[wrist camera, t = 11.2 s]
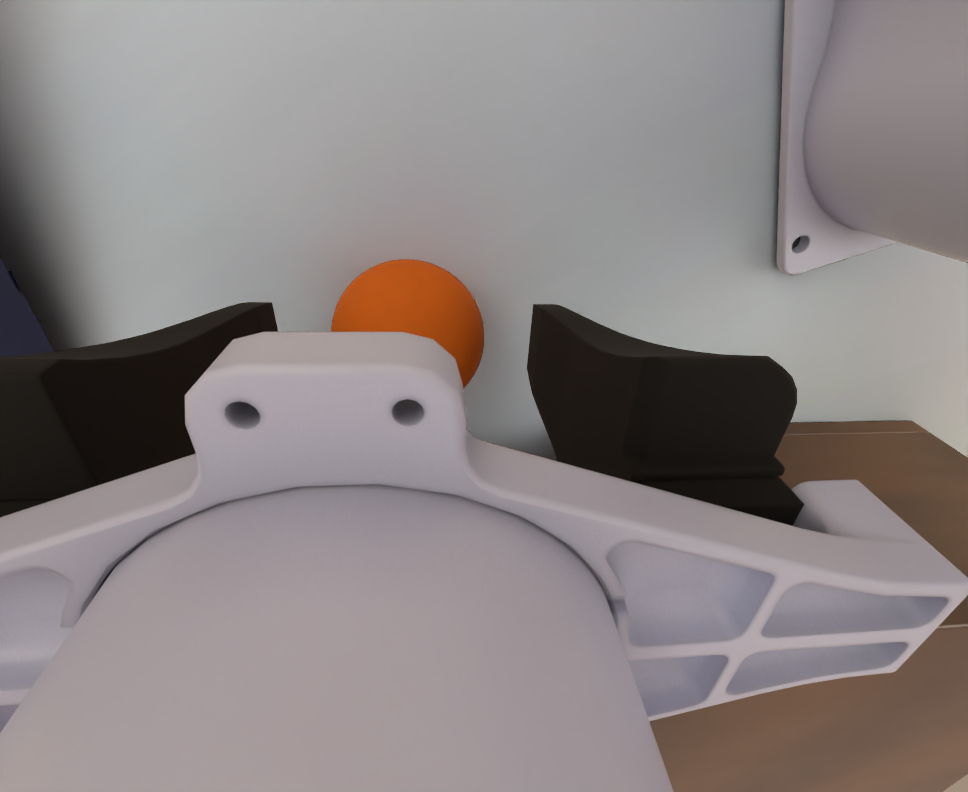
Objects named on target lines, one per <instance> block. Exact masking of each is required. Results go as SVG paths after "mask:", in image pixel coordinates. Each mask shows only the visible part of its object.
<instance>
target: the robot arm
mask: <svg viewBox="0 0 968 792" xmlns="http://www.w3.org/2000/svg"><path fill="white" fill-rule="evenodd" d="M798 237H801V239H800V243H799V244H798V245H797V246H796V247H795V248H794V249H792V244H793V242H794V241H795V240H796V239H797V238H798ZM898 242H899V243H903V244H906V245H909V246H913V247H916V248H919V249H923V250H926V251H929V252H933V253H936V254H940V255H943V256H946V257H950V258H953V259H956V260H960V261H963V262H966V263H968V0H785V15H784V46H783V76H782V107H781V137H780V168H779V198H778V229H777V259H776V263H777V267H778V269H779V270H780V271H782V272H784V273H786V274H789V275H798V274H801V273H804V272H807V271H810V270H813V269H817V268H820V267H823V266H826V265H829V264H832V263H835V262H838V261H841V260H845V259H848V258H851V257H854V256H857V255H860V254H863V253H866V252H870V251H873V250H876V249H879V248H882V247H885V246H888V245H891V244H894V243H898ZM527 370H528V375H529V381H530V386H531V390H532V394H533V397H534V399H535V402H536V405H537V407H538V410H539V413H540V415H541V418H542V420H543V423H544V425H545V428H546V431H547V433H548V436H549V438H550V441H551V443H552V446H553V449H554V452H555V455H556V459H557V461H554V460H551V459H547V458H543V457H540V456H536V455H532V454H529V453H525V452H522V451H518V450H514V449H511V448H507V447H503V446H500V445H496V444H492V443H489V442H485V441H482V440H478V439H477V438H476V437H475V436H473V435H472V434H471V433H470V432H469V431H468V430H467V428H466V413H465V403H464V393H463V383H462V380H461V377H460V373H459V370H458V366H457V363H456V359H455V358H454V357H453V356H452V355H451V354H449V353H448V352H447V351H446V350H445V349H444V348H443V347H442V346H441V345H439V344H438V343H437V342H436V341H435V340H434V339H430V338H426V337H422V336H418V335H414V334H410V333H406V332H278V329H277V325H276V320H275V315H274V310H273V306H272V303H256V302H248V303H240V304H236V305H232V306H229V307H226V308H223V309H220V310H217V311H214V312H211V313H208V314H205V315H203V316H200V317H197V318H194V319H191V320H188V321H185V322H182V323H179V324H176V325H173V326H170V327H167V328H164V329H160V330H157V331H154V332H151V333H147V334H143V335H140V336H136V337H132V338H127V339H123V340H119V341H114V342H110V343H105V344H99V345H93V346H87V347H81V348H75V349H69V350H63V351H55V352H47V353H38V354H29V355H18V356H7V357H0V792H674V791H673V788H672V785H671V783H670V780H669V777H668V774H667V771H666V768H665V765H664V762H663V760H662V757H661V754H660V751H659V748H658V745H657V742H656V739H655V737H654V734H653V731H652V728H651V725H650V722H649V721H652V720H656V719H660V718H665V717H669V716H673V715H677V714H681V713H685V712H689V711H693V710H697V709H701V708H705V707H709V706H713V705H717V704H721V703H726V702H730V701H734V700H738V699H742V698H746V697H750V696H754V695H758V694H762V693H767V692H771V691H776V690H780V689H785V688H790V687H794V686H799V685H803V684H809V683H815V682H821V681H827V680H833V679H839V678H846V677H855V676H864V675H873V674H882V673H893V672H895V671H897V669H898V668H899V667H900V666H901V665H902V664H903V663H904V662H905V661H906V660H907V659H908V658H909V657H910V656H911V655H912V654H913V653H914V651H915V650H916V649H917V648H918V647H919V646H920V645H921V644H922V643H923V642H924V641H925V640H926V639H927V638H928V637H929V636H930V635H931V634H932V632H933V631H934V630H935V629H936V628H937V627H938V626H939V625H940V624H941V623H942V622H943V621H944V620H945V619H946V618H947V617H948V616H949V614H950V613H951V612H952V611H953V610H954V609H955V608H956V607H957V606H958V605H959V604H960V603H961V602H962V601H963V600H964V599H965V598H966V597H967V595H968V577H966V576H965V575H964V574H963V573H962V572H961V571H960V570H959V569H957V568H956V567H955V566H954V565H953V564H952V563H951V562H950V561H948V560H947V559H946V558H945V557H944V556H943V555H942V554H941V553H939V552H938V551H937V550H936V549H935V548H934V547H933V546H931V545H930V544H929V543H928V542H927V541H926V540H925V539H924V538H922V537H921V536H920V535H919V534H918V533H917V532H916V531H915V530H913V529H912V528H911V527H910V526H909V525H908V524H907V523H906V522H904V521H903V520H902V519H901V518H900V517H899V516H898V515H896V514H895V513H894V512H893V511H892V510H891V509H890V508H889V507H887V506H886V505H885V504H884V503H883V502H882V501H881V500H880V499H878V498H877V497H876V496H875V495H874V494H873V493H872V492H871V491H869V490H868V489H867V488H866V487H865V486H864V485H863V484H861V483H860V482H859V481H858V480H826V481H808V482H803V483H800V484H798V485H796V486H795V487H793V488H792V489H790V488H789V487H788V486H787V485H786V484H785V483H784V482H783V481H782V479H781V478H780V477H779V476H782V475H783V473H784V471H785V469H784V465H783V464H782V463H781V462H780V461H779V460H778V459H777V458H776V457H775V456H774V455H775V453H776V451H777V449H778V446H779V444H780V442H781V440H782V438H783V436H784V434H785V432H786V430H787V427H788V425H789V423H790V421H791V419H792V417H793V413H794V410H795V407H796V404H797V388H796V386H795V383H794V380H793V378H792V376H791V375H790V374H789V373H788V372H787V371H786V370H785V369H784V368H783V367H782V366H780V365H779V364H778V363H776V362H775V361H774V360H772V359H771V358H770V357H768V356H741V355H721V354H711V353H703V352H694V351H688V350H682V349H676V348H672V347H667V346H662V345H657V344H653V343H650V342H646V341H643V340H640V339H636V338H633V337H630V336H627V335H624V334H621V333H619V332H617V331H614V330H612V329H609V328H607V327H605V326H602V325H600V324H598V323H596V322H594V321H592V320H590V319H587V318H585V317H583V316H581V315H579V314H577V313H575V312H573V311H571V310H569V309H567V308H565V307H562V306H559V305H552V304H533V314H532V324H531V334H530V344H529V353H528V363H527Z"/></svg>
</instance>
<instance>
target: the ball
mask: <svg viewBox="0 0 968 792" xmlns="http://www.w3.org/2000/svg"><path fill="white" fill-rule="evenodd" d="M331 332H406V333H410V334H414V335H418V336H422V337H426V338H430V339H434V340H435V341H436V342H437V343H438V344H439V345H441V346H442V347H443V348H444V349H445V350H446V351H447V352H448V353H449V354H451V355H452V356H453V357H454V358H455V359H456V363H457V366H458V370H459V373H460V377H461V380H462V383H463V389H464V388H465V386H466V385H467V384H468V383H469V382H470V380H471V378H472V377H473V375H474V374H475V372H476V370H477V368H478V366H479V363H480V360H481V357H482V353H483V347H484V328H483V321H482V318H481V314H480V311H479V309H478V306H477V304H476V302H475V300H474V298H473V297H472V295H471V293H470V292H469V291H468V290H467V288H466V287H465V286H464V285H463V284H462V283H461V282H460V281H459V280H458V279H457V278H456V277H455V276H453V275H452V274H451V273H449V272H448V271H446V270H444V269H442V268H441V267H438V266H436V265H433V264H431V263H427V262H424V261H419V260H411V259H406V260H394V261H389V262H385V263H381V264H379V265H377V266H374V267H372V268H370V269H369V270H367V271H365V272H364V273H362V274H361V275H360V276H358V277H357V278H356V279H355V280H354V281H353V282H352V283H351V284H350V285H349V286H348V287H347V289H346V290H345V292H344V293H343V295H342V296H341V298H340V300H339V302H338V304H337V306H336V309H335V313H334V316H333V320H332V327H331Z"/></svg>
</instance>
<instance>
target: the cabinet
mask: <svg viewBox="0 0 968 792" xmlns="http://www.w3.org/2000/svg"><path fill="white" fill-rule="evenodd" d="M774 456H775V457H776V458H777V459H778V460H779V461H780V462H781V463H782V464H783V465H784V469H785V471H784V473H783V475H782V476H779V477H780V478H781V479H782V481H783V482H784V483H785V484H786V485H787V486H788V487H789V488H790V489H792V488H793V487H795V486H796V485H798V484H800V483H803V482H808V481H826V480H858V481H859V482H860V483H861V484H863V485H864V486H865V487H866V488H867V489H868V490H869V491H871V492H872V493H873V494H874V495H875V496H876V497H877V498H878V499H880V500H881V501H882V502H883V503H884V504H885V505H886V506H887V507H889V508H890V509H891V510H892V511H893V512H894V513H895V514H896V515H898V516H899V517H900V518H901V519H902V520H903V521H904V522H906V523H907V524H908V525H909V526H910V527H911V528H912V529H913V530H915V531H916V532H917V533H918V534H919V535H920V536H921V537H922V538H924V539H925V540H926V541H927V542H928V543H929V544H930V545H931V546H933V547H934V548H935V549H936V550H937V551H938V552H939V553H941V554H942V555H943V556H944V557H945V558H946V559H947V560H948V561H950V562H951V563H952V564H953V565H954V566H955V567H956V568H957V569H959V570H960V571H961V572H962V573H963V574H964V575H965V576H966V577H968V458H967V457H966V456H964V455H963V454H961V453H960V452H958V451H957V450H955V449H954V448H952V447H950V446H949V445H947V444H946V443H944V442H943V441H941V440H940V439H938V438H937V437H935V436H934V435H932V434H931V433H929V432H928V431H927V430H925V429H923V428H922V427H920V426H919V425H917V424H916V423H914V422H913V421H868V422H811V423H789V425H788V427H787V430H786V432H785V434H784V436H783V438H782V440H781V442H780V444H779V446H778V449H777V451H776V453H775V455H774ZM649 722H650V725H651V728H652V731H653V734H654V737H655V739H656V742H657V745H658V748H659V751H660V754H661V757H662V760H663V762H664V765H665V768H666V771H667V774H668V777H669V780H670V783H671V785H672V788H673V791H674V792H943V791H944V790H945V789H947V788H948V787H950V786H951V785H953V784H954V783H955V782H957V781H958V780H960V779H961V778H962V777H964V776H965V775H967V774H968V595H967V597H966V598H965V599H964V600H963V601H962V602H961V603H960V604H959V605H958V606H957V607H956V608H955V609H954V610H953V611H952V612H951V613H950V614H949V616H948V617H947V618H946V619H945V620H944V621H943V622H942V623H941V624H940V625H939V626H938V627H937V628H936V629H935V630H934V631H933V632H932V634H931V635H930V636H929V637H928V638H927V639H926V640H925V641H924V642H923V643H922V644H921V645H920V646H919V647H918V648H917V649H916V650H915V651H914V653H913V654H912V655H911V656H910V657H909V658H908V659H907V660H906V661H905V662H904V663H903V664H902V665H901V666H900V667H899V668H898V669H897V671H895V672H893V673H882V674H873V675H864V676H855V677H846V678H839V679H833V680H827V681H821V682H815V683H809V684H803V685H799V686H794V687H790V688H785V689H780V690H776V691H771V692H767V693H762V694H758V695H754V696H750V697H746V698H742V699H738V700H734V701H730V702H726V703H721V704H717V705H713V706H709V707H705V708H701V709H697V710H693V711H689V712H685V713H681V714H677V715H673V716H669V717H665V718H660V719H656V720H652V721H649Z"/></svg>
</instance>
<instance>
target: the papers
mask: <svg viewBox="0 0 968 792" xmlns="http://www.w3.org/2000/svg"><path fill="white" fill-rule="evenodd" d="M47 352H54V350H53V349H52V347H51V345H50V343H49V341H48V339H47V337H46V335H45V334H44V332H43V330H42V328H41V326H40V324H39V322H38V320H37V319H36V317H35V315H34V313H33V311H32V309H31V307H30V305H29V304H28V302H27V300H26V298H25V296H24V294H23V292H22V291H21V289H20V287H19V285H18V283H17V281H16V279H15V277H14V276H13V274H12V272H11V271H7V269H6V268H5V266H4V264H3V262H2V260H1V258H0V357H7V356H18V355H29V354H38V353H47Z"/></svg>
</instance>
